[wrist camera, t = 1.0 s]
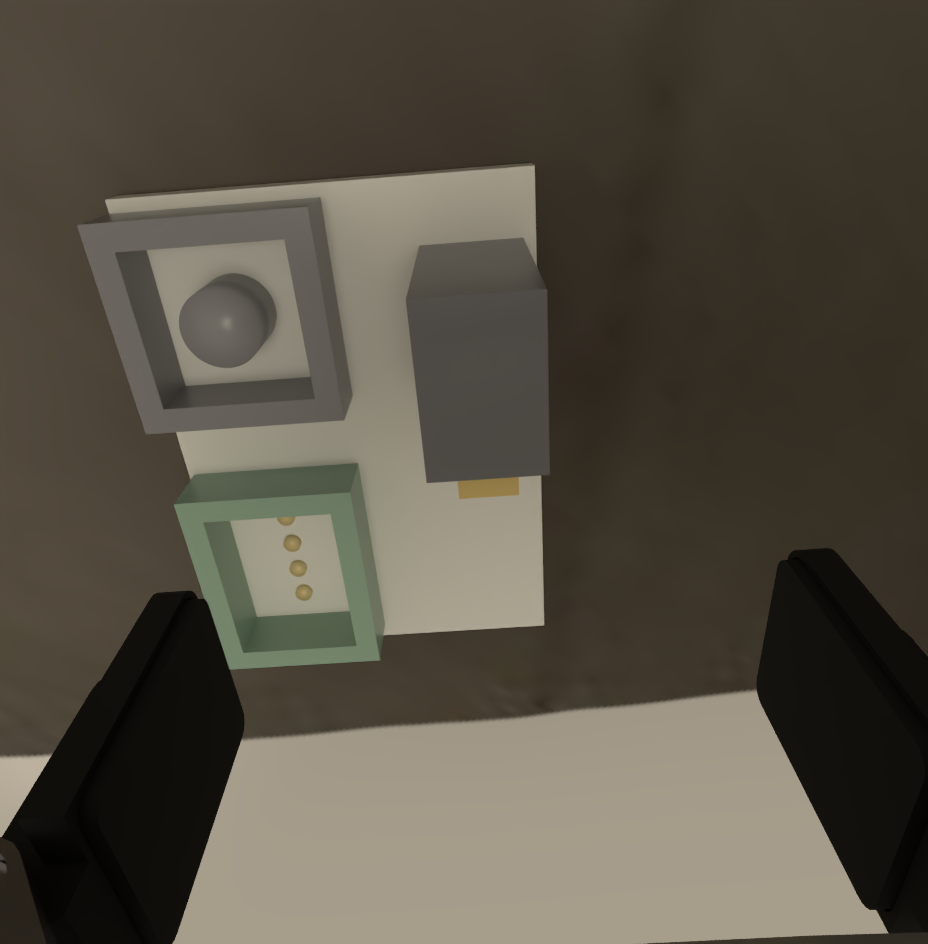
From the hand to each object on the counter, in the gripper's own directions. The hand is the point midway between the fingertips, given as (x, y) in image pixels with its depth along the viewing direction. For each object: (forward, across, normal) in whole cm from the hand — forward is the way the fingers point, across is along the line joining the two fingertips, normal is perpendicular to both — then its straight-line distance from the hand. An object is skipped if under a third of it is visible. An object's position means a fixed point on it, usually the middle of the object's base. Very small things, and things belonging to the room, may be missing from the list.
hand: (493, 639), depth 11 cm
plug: (+19, 0, 0) cm, 19 cm away
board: (+20, +5, +6) cm, 21 cm away
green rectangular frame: (+19, +9, +11) cm, 24 cm away
